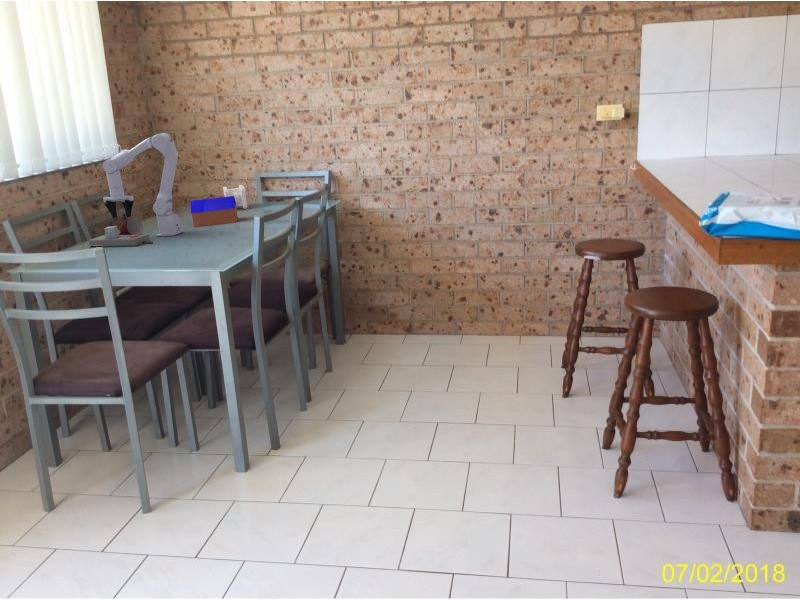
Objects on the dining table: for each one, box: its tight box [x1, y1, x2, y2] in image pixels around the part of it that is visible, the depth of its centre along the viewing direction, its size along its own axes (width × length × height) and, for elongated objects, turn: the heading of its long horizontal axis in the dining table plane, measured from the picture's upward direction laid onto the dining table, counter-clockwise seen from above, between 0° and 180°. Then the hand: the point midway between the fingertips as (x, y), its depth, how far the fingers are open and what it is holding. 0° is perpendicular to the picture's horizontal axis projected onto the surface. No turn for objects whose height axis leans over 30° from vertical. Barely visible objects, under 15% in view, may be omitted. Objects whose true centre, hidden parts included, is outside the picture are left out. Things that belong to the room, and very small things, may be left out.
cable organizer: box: [222, 184, 248, 210], centre depth 384 cm, size 15×11×12 cm
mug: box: [118, 217, 144, 235], centre depth 336 cm, size 10×8×10 cm
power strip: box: [88, 233, 154, 248], centre depth 319 cm, size 29×9×4 cm, turn 72°
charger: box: [103, 225, 119, 239], centre depth 320 cm, size 4×4×7 cm
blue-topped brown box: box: [190, 196, 239, 228], centre depth 349 cm, size 12×20×12 cm, turn 99°
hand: (122, 217), depth 330 cm, fingers open, 7 cm apart
